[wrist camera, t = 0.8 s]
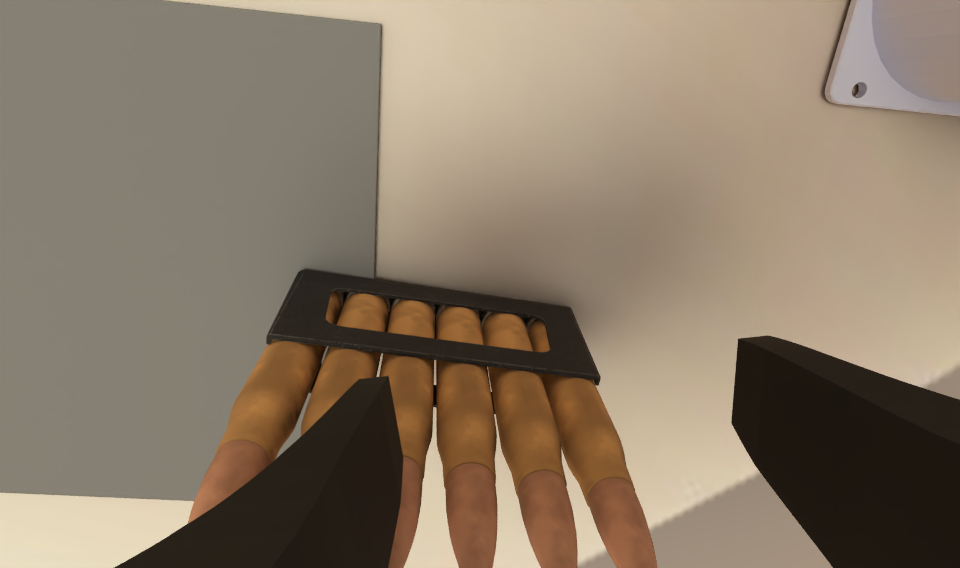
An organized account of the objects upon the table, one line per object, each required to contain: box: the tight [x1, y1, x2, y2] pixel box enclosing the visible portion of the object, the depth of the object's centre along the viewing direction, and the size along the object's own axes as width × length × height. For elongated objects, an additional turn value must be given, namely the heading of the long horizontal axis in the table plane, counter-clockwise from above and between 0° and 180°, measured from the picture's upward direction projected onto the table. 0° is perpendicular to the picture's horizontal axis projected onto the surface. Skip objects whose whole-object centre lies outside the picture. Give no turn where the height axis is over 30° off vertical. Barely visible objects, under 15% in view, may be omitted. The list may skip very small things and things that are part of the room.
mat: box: [0, 0, 382, 501], centre depth 20 cm, size 18×20×1 cm
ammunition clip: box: [188, 269, 657, 568], centre depth 16 cm, size 11×2×12 cm, turn 79°
